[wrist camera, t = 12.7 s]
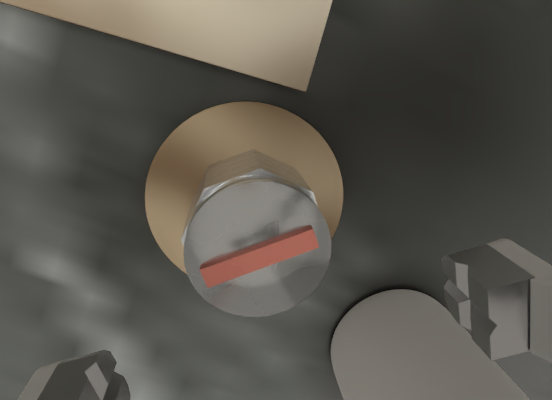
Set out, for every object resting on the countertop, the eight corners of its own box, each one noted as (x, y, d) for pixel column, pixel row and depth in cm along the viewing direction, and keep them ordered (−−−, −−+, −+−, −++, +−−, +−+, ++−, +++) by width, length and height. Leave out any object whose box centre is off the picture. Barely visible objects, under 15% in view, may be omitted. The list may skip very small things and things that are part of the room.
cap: (285, 137, 18) (310, 162, 13) (317, 236, 20) (350, 293, 15) (176, 176, 18) (155, 218, 13) (218, 272, 20) (216, 342, 15)
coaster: (167, 75, 17) (166, 75, 17) (365, 131, 19) (369, 132, 19) (132, 266, 20) (129, 272, 19) (308, 297, 22) (310, 303, 21)
